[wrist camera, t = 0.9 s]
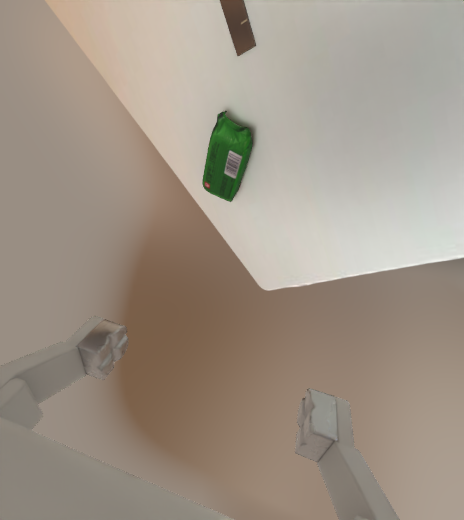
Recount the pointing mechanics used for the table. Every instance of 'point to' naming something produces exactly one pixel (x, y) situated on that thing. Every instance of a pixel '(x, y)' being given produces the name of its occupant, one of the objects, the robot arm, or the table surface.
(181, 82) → the table surface
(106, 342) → the robot arm
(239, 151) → the snack package
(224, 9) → the ruler
